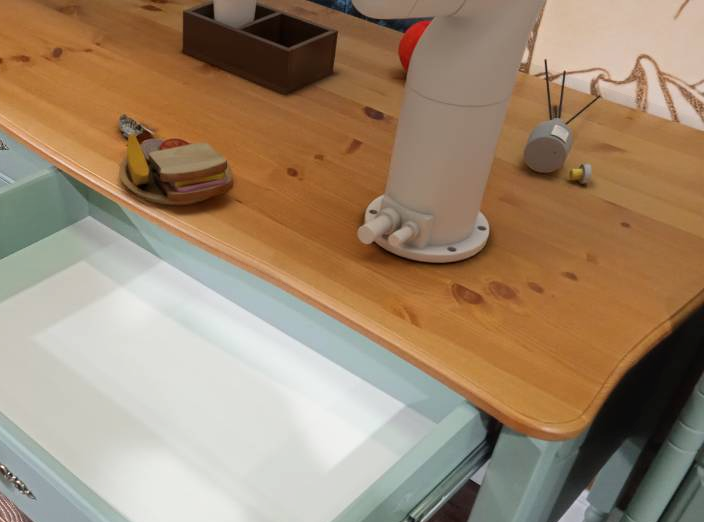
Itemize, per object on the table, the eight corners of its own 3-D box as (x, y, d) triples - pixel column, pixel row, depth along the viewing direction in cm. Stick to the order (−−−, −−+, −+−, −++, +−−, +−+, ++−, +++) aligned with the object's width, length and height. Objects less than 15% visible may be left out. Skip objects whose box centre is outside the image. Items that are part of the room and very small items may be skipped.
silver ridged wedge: (134, 142, 101) (152, 153, 103) (144, 124, 100) (162, 136, 102) (112, 129, 105) (130, 140, 107) (122, 112, 105) (139, 124, 107)
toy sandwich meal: (217, 146, 101) (218, 109, 97) (245, 209, 91) (248, 169, 88) (112, 156, 99) (110, 118, 96) (130, 220, 90) (128, 181, 86)
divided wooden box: (284, 95, 112) (288, 51, 108) (182, 52, 122) (182, 10, 118) (333, 73, 117) (338, 30, 113) (231, 34, 127) (232, -7, 123)
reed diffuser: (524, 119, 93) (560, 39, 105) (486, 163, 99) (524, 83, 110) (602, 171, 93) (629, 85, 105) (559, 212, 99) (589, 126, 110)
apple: (412, 60, 120) (422, 6, 115) (463, 76, 117) (476, 20, 112) (382, 78, 116) (392, 22, 111) (434, 95, 112) (446, 38, 107)
